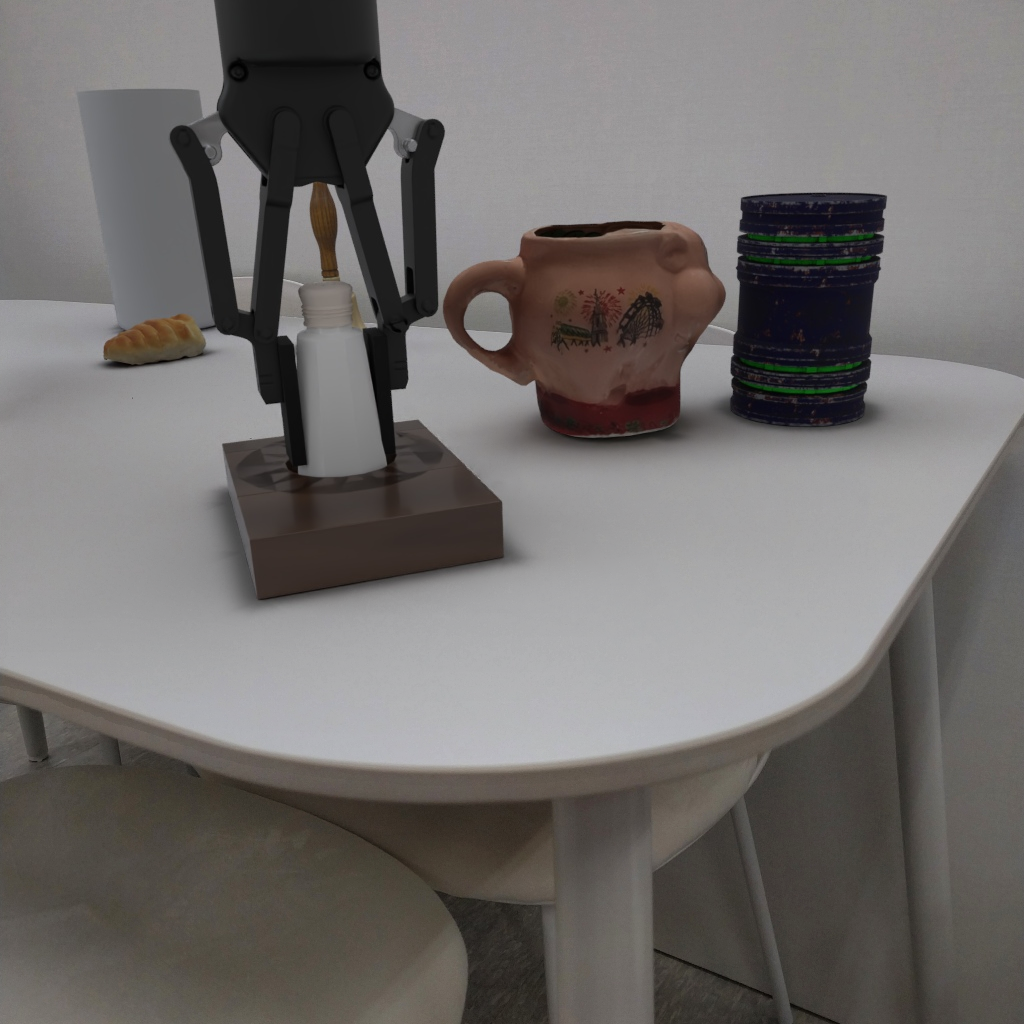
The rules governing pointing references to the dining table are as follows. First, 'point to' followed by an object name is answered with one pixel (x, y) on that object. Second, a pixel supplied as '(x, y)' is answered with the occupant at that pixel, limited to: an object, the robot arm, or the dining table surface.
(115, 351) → the pastry
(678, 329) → the ceramic mug
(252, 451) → the holder
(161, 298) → the cylinder vase
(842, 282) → the storage jar
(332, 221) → the hand bell
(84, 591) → the dining table surface
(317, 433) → the salt shaker
